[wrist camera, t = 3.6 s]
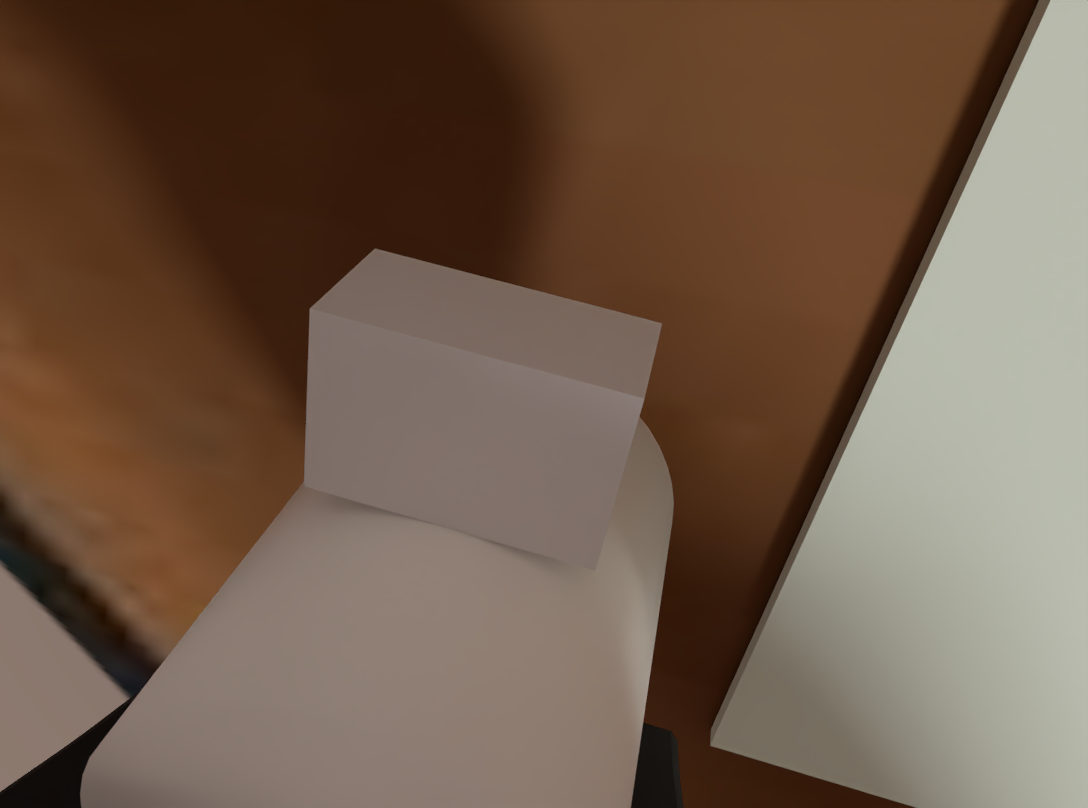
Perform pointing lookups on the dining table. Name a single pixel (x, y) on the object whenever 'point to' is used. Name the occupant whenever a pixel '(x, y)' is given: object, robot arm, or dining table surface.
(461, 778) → the grey rounded piece
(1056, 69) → the mat
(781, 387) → the dining table surface
